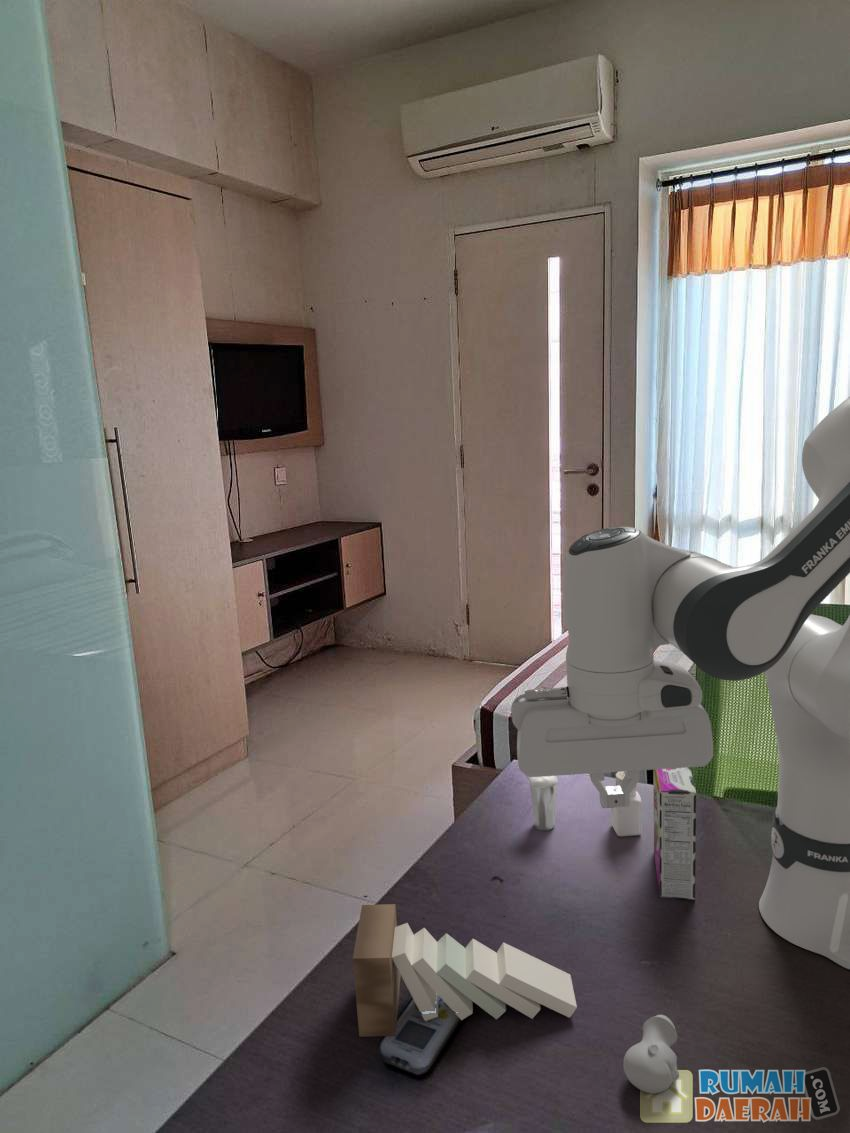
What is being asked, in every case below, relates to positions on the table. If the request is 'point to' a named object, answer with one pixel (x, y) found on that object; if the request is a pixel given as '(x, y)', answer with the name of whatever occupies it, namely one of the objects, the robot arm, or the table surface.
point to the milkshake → (543, 801)
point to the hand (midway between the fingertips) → (614, 804)
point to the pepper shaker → (627, 813)
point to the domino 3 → (464, 976)
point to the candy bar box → (675, 832)
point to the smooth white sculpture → (653, 1057)
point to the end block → (376, 971)
